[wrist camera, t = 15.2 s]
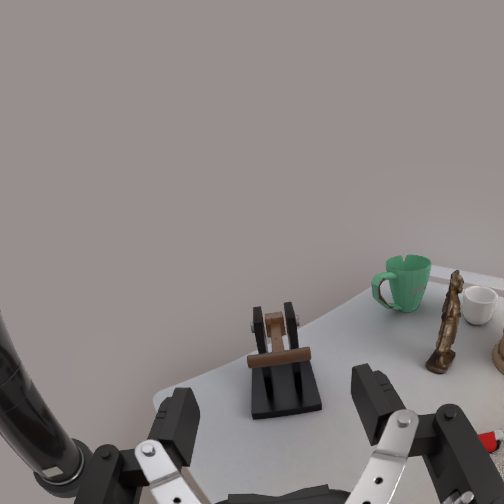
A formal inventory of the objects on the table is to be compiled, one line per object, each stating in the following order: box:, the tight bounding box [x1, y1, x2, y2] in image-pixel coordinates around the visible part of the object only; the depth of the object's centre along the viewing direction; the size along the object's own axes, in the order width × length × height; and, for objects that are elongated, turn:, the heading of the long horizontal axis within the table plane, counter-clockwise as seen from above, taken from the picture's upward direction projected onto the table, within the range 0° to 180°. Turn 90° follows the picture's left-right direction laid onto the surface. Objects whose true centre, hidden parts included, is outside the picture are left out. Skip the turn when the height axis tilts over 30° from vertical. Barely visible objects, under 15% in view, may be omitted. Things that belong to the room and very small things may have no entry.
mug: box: [372, 255, 431, 312], centre depth 49 cm, size 15×10×10 cm
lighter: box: [478, 430, 504, 453], centre depth 15 cm, size 3×1×8 cm
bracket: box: [251, 302, 322, 420], centre depth 35 cm, size 12×9×13 cm
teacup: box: [462, 286, 498, 325], centre depth 38 cm, size 10×8×5 cm
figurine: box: [425, 270, 464, 374], centre depth 29 cm, size 7×4×15 cm, turn 123°
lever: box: [247, 312, 311, 368], centre depth 29 cm, size 13×6×2 cm, turn 179°
